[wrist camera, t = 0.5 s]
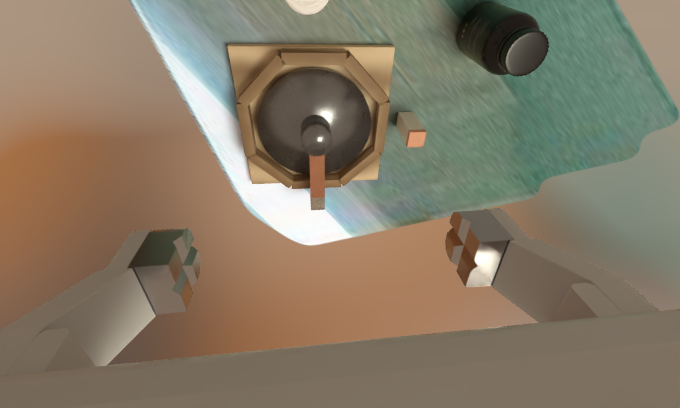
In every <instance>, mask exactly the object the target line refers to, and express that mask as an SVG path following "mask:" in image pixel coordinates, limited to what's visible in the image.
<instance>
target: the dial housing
mask: <svg viewBox="0 0 680 408" xmlns="http://www.w3.org/2000/svg"><path fill="white" fill-rule="evenodd" d="M227 47H228V52H229V58H230V64H231V69H232V75H233V80H234V86H235V91H236V97H237V103H236V106H237V112H238V117H239V123H240V128H241V134H242V139H243V144H244V150H245V155H246V156H247V158H248V164H249V169H250V175H251V181H252V184H265V183H282V184H284V185H285V186H286V187H288V188H289V187H290V186H292V189H303V188H310V175H307V174H301V173H297V172H294V171H291V170H289V169H287V168H285V167H283V166H282V165H280V164H279V163H277V162H276V161H275V160H274V159H273V158H272V157H271V156H270V155H269V154H268V153H267V151H266V150H265V148H264V146H263V145H262V143H261V140H260V137H259V133H258V127H257V118H258V112H259V107H260V104H261V101H262V99H263V97H264V95H265V93H266V92H267V90H268V89H269V88H270V86H271V85H272V84H273V83H274V82H275V81H276V80H278V79H279V78H281V77H282V76H284V75H286V74H287V73H289V72H292V71H295V70H298V69H302V68H310V67H318V68H326V69H330V70H333V71H336V72H338V73H340V74H342V75H344V76H346V77H347V78H349V79H350V80H351V81H352V82H353V83H354V84H356V85H357V87H358V88H359V89H360V90H361V92H362V94H363V95H364V97H365V99H366V102H367V104H368V106H369V110H370V114H371V130H370V135H369V138H368V141H367V143H366V145H365V147H364V149H363V150H362V152H361V153H360V154H359V155H358V156H357V157H356V158H355V159H354V160H353V161H352V162H351V163H349V164H348V165H347V166H345V167H343V168H341V169H339V170H337V171H334V172H331V173H327V174H325V188H329V187H341V184H342V185H343V186H344V185H346V184H347V183H348V182H349V181H351V180H373V179H377V177H378V170H379V162H380V156H381V153H383V151H384V143H385V136H386V129H387V122H388V115H389V108H390V101H389V98H388V96H389V88H390V81H391V73H392V66H393V58H394V51H395V47H394V46H393V45H339V44H228V46H227Z"/></svg>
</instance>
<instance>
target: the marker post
mask: <svg viewBox="0 0 680 408" xmlns="http://www.w3.org/2000/svg"><path fill="white" fill-rule="evenodd" d="M396 127H397V128H398V130H399V132H400V134H401V136H402V138H403V140H404V142H405V144H406V146H407V147H423V144H424V140H425V136H426V131H425V129H424V128H423V126H422V125H421V123H420V122H419V120H418V119H417V117H416V115H415V114H414V112H398V117H397V124H396Z"/></svg>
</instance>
